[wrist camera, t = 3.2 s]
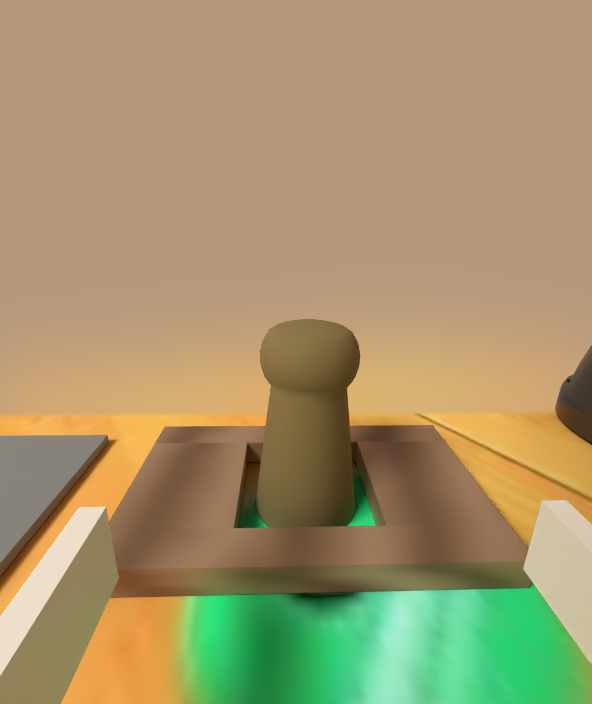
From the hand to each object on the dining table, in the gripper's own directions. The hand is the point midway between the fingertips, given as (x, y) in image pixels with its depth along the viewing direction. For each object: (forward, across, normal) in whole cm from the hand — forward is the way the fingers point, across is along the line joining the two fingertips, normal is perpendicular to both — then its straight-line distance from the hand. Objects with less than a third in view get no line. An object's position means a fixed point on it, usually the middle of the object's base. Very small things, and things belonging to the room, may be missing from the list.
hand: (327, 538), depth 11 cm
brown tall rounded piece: (+9, 0, -7) cm, 12 cm away
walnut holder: (+9, 0, -7) cm, 11 cm away
